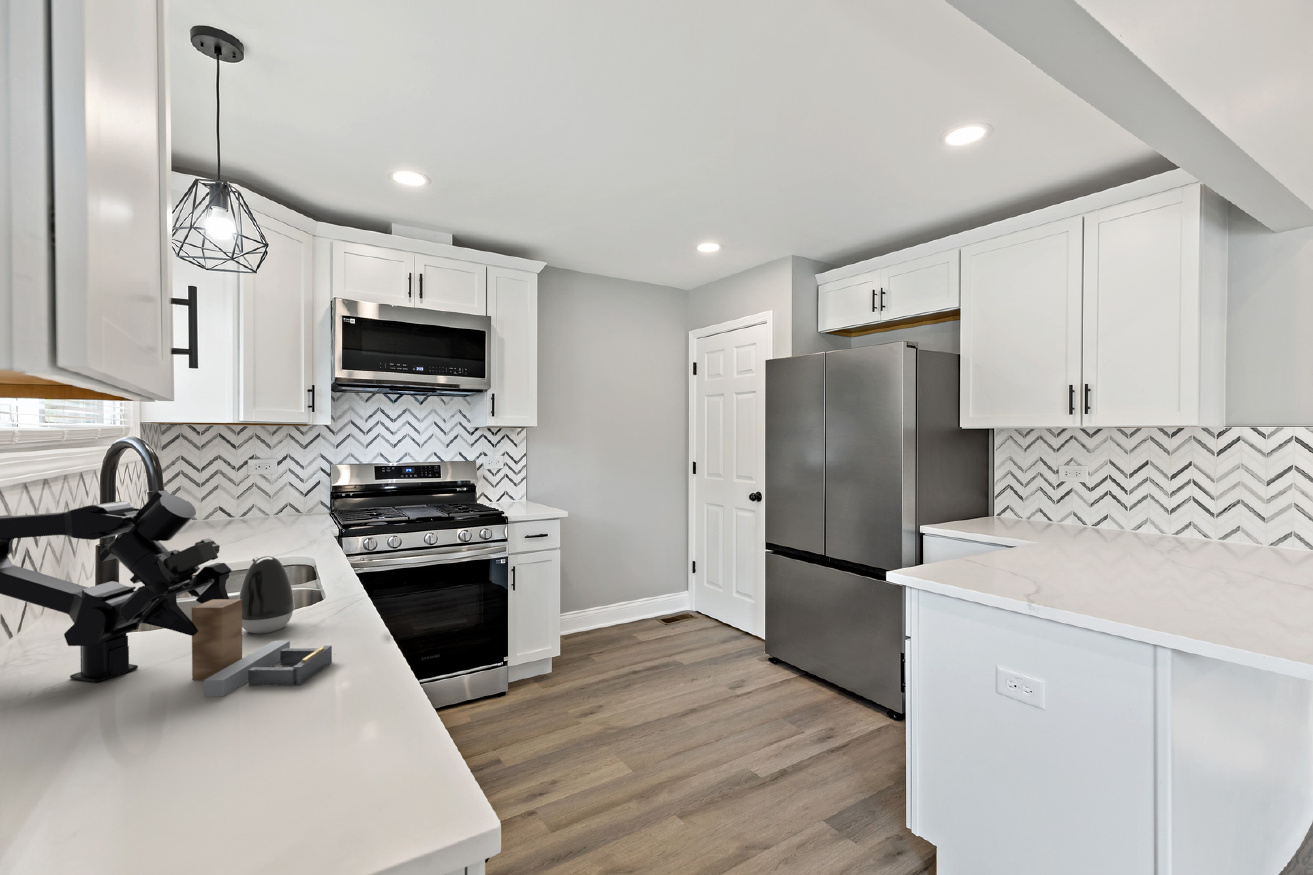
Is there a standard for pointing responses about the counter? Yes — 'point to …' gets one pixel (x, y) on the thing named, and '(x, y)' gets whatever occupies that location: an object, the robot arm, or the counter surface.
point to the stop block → (216, 636)
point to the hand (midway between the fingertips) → (215, 624)
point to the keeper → (304, 669)
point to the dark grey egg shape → (266, 596)
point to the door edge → (243, 669)
